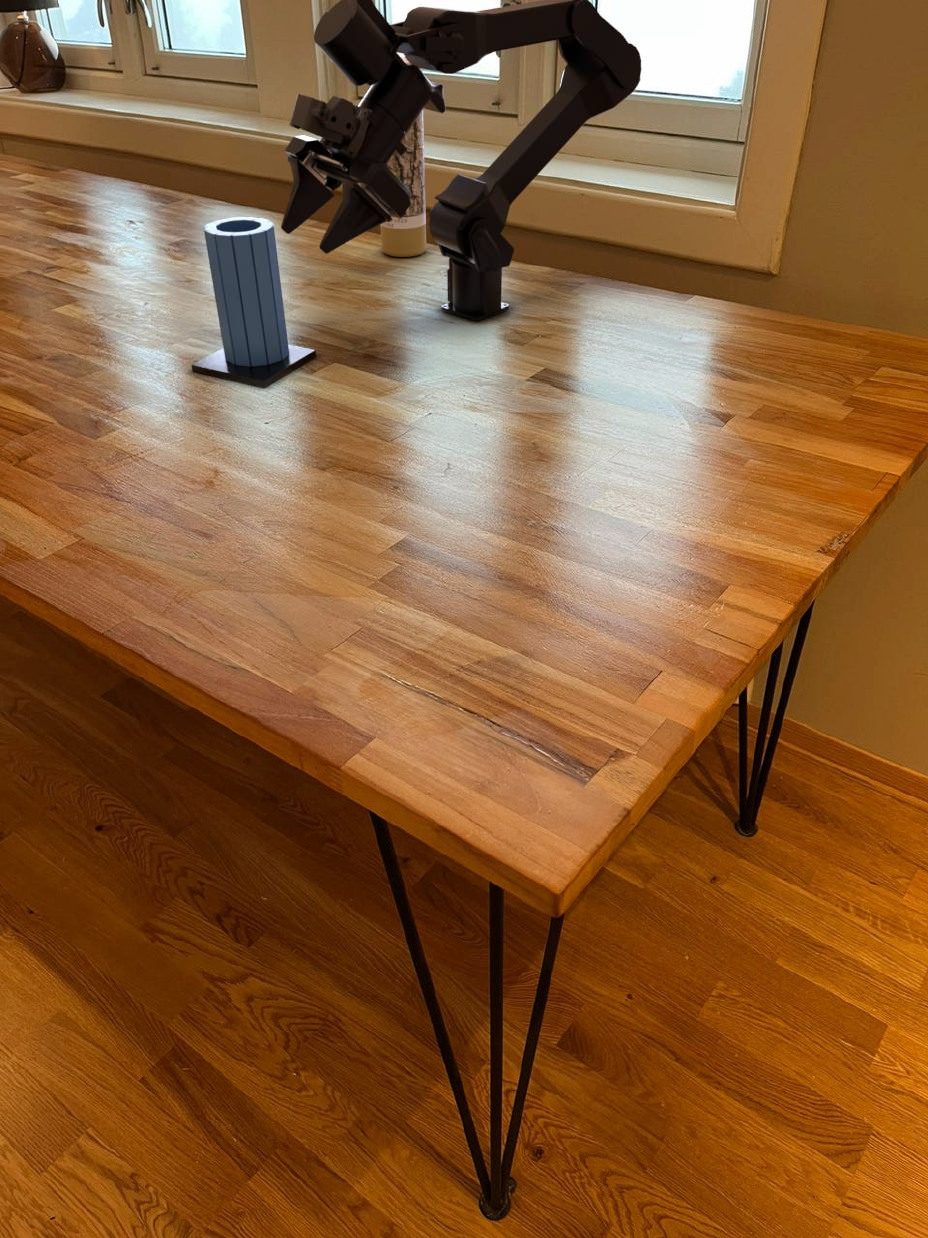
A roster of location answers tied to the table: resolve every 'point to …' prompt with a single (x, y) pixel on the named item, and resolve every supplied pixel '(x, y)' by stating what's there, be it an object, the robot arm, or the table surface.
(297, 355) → the peg stand
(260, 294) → the blue fluted tube
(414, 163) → the paper tube
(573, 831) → the table surface
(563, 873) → the table surface
